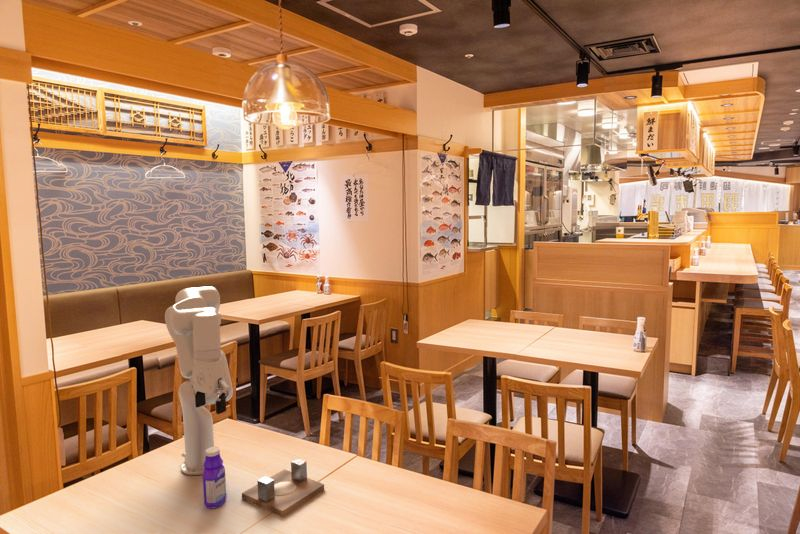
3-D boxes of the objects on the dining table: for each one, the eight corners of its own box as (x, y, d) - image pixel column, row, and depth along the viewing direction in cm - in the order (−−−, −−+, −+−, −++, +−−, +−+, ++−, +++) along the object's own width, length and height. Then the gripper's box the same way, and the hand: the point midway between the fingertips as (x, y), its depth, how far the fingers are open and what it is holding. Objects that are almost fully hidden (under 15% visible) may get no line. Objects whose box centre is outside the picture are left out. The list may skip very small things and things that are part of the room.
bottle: (217, 510, 161) (214, 455, 159) (200, 508, 162) (197, 453, 160) (229, 497, 168) (227, 444, 166) (213, 496, 170) (210, 443, 168)
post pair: (258, 499, 164) (257, 480, 163) (298, 475, 178) (297, 458, 177) (267, 503, 162) (266, 484, 161) (307, 478, 176) (306, 461, 175)
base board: (241, 499, 168) (241, 492, 167) (284, 474, 182) (284, 468, 182) (282, 517, 158) (282, 510, 157) (324, 490, 172) (324, 483, 172)
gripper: (179, 352, 162) (182, 407, 164) (215, 361, 152) (218, 419, 154) (200, 347, 168) (203, 399, 170) (237, 355, 158) (239, 411, 160)
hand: (210, 409), depth 162 cm, fingers open, 9 cm apart
